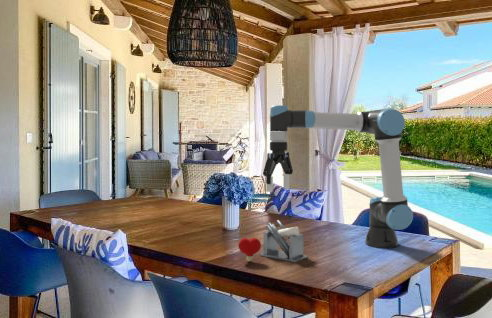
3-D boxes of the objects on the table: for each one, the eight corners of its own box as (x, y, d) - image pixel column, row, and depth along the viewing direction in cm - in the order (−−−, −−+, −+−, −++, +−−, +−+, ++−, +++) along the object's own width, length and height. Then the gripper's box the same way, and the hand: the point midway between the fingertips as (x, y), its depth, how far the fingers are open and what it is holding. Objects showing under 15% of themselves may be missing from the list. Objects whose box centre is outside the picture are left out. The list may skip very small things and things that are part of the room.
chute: (307, 257, 211) (307, 222, 210) (295, 262, 203) (295, 226, 202) (272, 251, 221) (272, 218, 220) (259, 255, 213) (260, 221, 212)
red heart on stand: (260, 259, 207) (260, 236, 206) (261, 264, 200) (261, 239, 199) (238, 259, 206) (238, 236, 206) (238, 264, 199) (238, 240, 199)
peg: (281, 229, 214) (298, 226, 209) (283, 237, 214) (299, 234, 208) (276, 229, 212) (293, 226, 206) (278, 238, 211) (295, 235, 205)
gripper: (286, 140, 223) (286, 186, 224) (254, 141, 203) (254, 192, 204) (300, 141, 219) (300, 188, 220) (269, 142, 199) (269, 193, 200)
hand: (278, 190), depth 212 cm, fingers open, 13 cm apart
